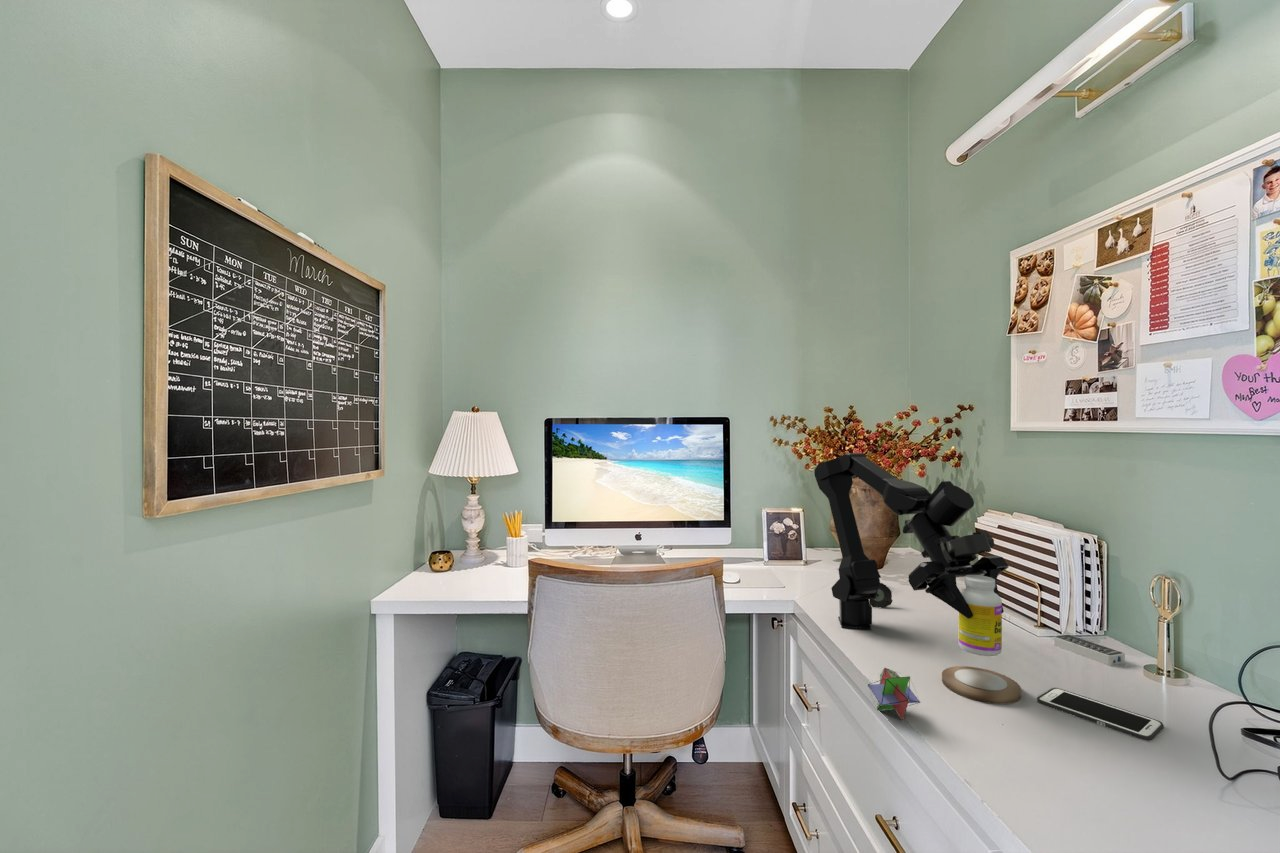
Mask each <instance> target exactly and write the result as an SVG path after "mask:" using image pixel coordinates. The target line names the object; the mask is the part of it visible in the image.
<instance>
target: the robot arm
mask: <svg viewBox="0 0 1280 853" xmlns="http://www.w3.org/2000/svg"><path fill="white" fill-rule="evenodd" d="M854 477H857V478H858V479H859V480H861V481H862V482H864V483H865V484H866V485H868V486H869V487H870V488H872V489H873V490H875V491H876V492H877V493H879V494H880V495H881V496H882V499H883V503H884V504H885V506H887V507H888V508H889V510H891V511H892V512H893V514H895V515H897V516H906V515H907V516H909V515H913V516H912V517H911V518H910V519H905V520H904V525H903V528H902V534H904V535H907V534H913V535H914V536H915V538H916V539H917V541H918V542H919V544H920V545H921V547H922V549H923V551H922V552H921V553H920V555H921V556H922V557H923V558H924V559H925V558H926V559H927V558H929V560H930V561H924V562H923V561H922V562H920V563H919V564H918V565H917V566H916V567H915V568H914V569H913V570H912V571H911V572H910V573H909V574H908V583H909V584H910V586H911V588H912V590H913V591H914V592H915V591H921V590H922V591H923V590H925V593H926V594H931V595H932V596H934V597H935V598H937V599H938V600H940V601H942V602H943V603H945V604H946V605H948V606H950V607H951V608H952V609H954V610H955V611H957V613H958V612H959V613H961V614H962V615H964V616H965V617H967V618H968V619H969V618H972V617H973V614H972V612H971V610H970V607H969V606H968V604H967V602H966V601H965V599H964V597H963V596H962V594H961V592H960V591H961V590H960V589H959V587H958V586H957V578H962V577H964V578H965V576H966V575H982V576H987V577H991V578H993V579H995V587H994V593H996V594H997V595H999V597H1000V593H999V590H998V585H997V580H998V577H999V576H1000V575H1001V574H1002V573H1004V571H1006V570H1007V569H1009V568H1010V567H1009V564H1008V563H1007V562H1006V561H1005V559H1004V558H1003V557H1002V556H999V555H988V556H987V555H986V556H982V557H980V558H979V559H978V557H977V555H978V554H982V553H991V552H992V547H993V548H994V546H995V539H994V538H993V536H992V535H990V533H989V532H988V531H987V530H986V529H985V530H978V531H975V532H973V533H972V534H968V535H963V536H959V535H952V534H951V532H950V530H949V529H948V528H947V527H953V526H954V525H956V524H957V523H958V521H961V519H962V518H963V517H964V516H965V515H966V514H967V513H969V511H970V510H971V509H972V508H973V507H974V506H975V501H974V498H973V497H972V495H971V494H970V493H969V492H967V491H966V490H964V489H963V488H961V487H959V486H957V485H954V484H953V483H952V482H951V481H950V480H945V481H941V482H940V483H939V484H938V485H937V487H936V489H935V490H933V492H931V493H930V491H929V490H928V489H927V488H926V487H924V486H922V485H919V484H917V483H915V482H912V481H911V482H910V481H908V480H903V479H900V478H897V477H896V476H895V475H893V474H892V473H890V472H888V471H887V470H886V469H884V468H883V467H881V466H879V465H878V464H877V463H875V462H873V461H872V460H870V459H869V458H867V456H866V454H863V453H861V452H850V453H849V452H848V453H845V454H842V455H840V456H839V457H836V458H833V459H829V460H826V461H820V462H818V463H817V465H816V467H815V468H814V478H815V480H816V483H817V486H818V489H819V490H820V491H821V492H822V493H823V494H824V496H825V497H826V498H827V499H828V502H829V507H830V511H831V512H830V513H831V515H832V519H833V523H834V528H835V532H836V537H837V540H838V544H839V548H840V553H841V557H842V558H841V561H840V563H839V567H838V575H839V579H837V581H836V582H835V583H834V584H833V585H832V587H831V589H830V590H831V592H832V593H831V594H832V597H833V598H834V599H837V600H839V601H838V602H839V616H838V617H837V618H838V622H839V624H840V627H841V628H844V629H845V628H847V629H861V630H871V629H872V626H871V625H872V624H873V607H872V606H871V605H870V604H869V603H870V600H869V599H876V595H877V592H878V588H879V586H880V583H881V580H880V578H881V574H880V572H879V569H878V563H877V561H876V560H875V559H870V558H869V557H868V556H867V555H866V554H865V551H864V548H863V543H862V540H861V536H860V532H859V528H858V524H857V520H856V515H855V512H854V509H853V504H852V500H851V496H850V493H851V489H852V486H853V482H854V481H853V478H854ZM976 559H978V560H977V561H976V562H975V563H973V564H971V562H974V561H975V560H976ZM1000 598H1001V597H1000ZM1003 607H1004V606H1002V614H1004V608H1003Z"/></svg>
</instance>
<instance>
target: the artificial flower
mask: <svg viewBox="0 0 1280 853" xmlns="http://www.w3.org/2000/svg"><path fill="white" fill-rule="evenodd" d="M892 595H893V594H892V590H891V589H890V588H889V587H888V586H887V585H886V584H885V583H882V582H880V586H879V588H878V592H877V595H876V599H869V604H870V605H871V607H872V608H873V607H875V608H879V607H882V608H886V607H888V606H891V605H892V603H893V598H892V597H893V596H892ZM882 608H881V609H882Z"/></svg>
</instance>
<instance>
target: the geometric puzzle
mask: <svg viewBox="0 0 1280 853" xmlns="http://www.w3.org/2000/svg"><path fill="white" fill-rule="evenodd" d="M877 682H879V683H877ZM910 682H911V676H910V675H908V676H900V675H899V673H898V672H897V671H895V670H892V669H889V668H887V667H884V668H883V669H882V670H881V672H880V674H879V680H876V681H874V682H870V683H868V684H866V685H867V687H868V689H869V691H870V692H871V693H870V694H871V696H872V695H873V696H875V697H874V698H876V700H877V703H878V705H877V706H875V707H876V711H879V712H880V711H882V710H883V711H882V713H883V714H885V712H884V710H887V711H888V712H890V713H891V714H892V715H894V718H896V719H899V720H901V721H902V722H903V721H904V720H905V719H906V717H905V716H906V714H905V713H906V711H907V707H910V706H913V705H918V704H921V701H920V699H919V697H918V696H917V695H918V694H917V692H915V693H916V695H915V693H914V692H913V691H912V689H911V686H910V684H911V683H912V685H914V683H913V682H911V683H910ZM875 683H877V684H875ZM913 688H914V690H916V689H915V687H913ZM873 703H874V704H876V702H875V701H874V702H873ZM909 704H910V705H909ZM890 710H895V712H896V713H897V715H896V714H894V713H893V712H892V711H890ZM887 715H888V716H890V715H889V714H888V713H887Z"/></svg>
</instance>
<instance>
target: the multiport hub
mask: <svg viewBox="0 0 1280 853" xmlns="http://www.w3.org/2000/svg"><path fill="white" fill-rule="evenodd" d="M1053 644H1054V645H1053V646H1054V647H1057V648H1058V647H1059V649H1061V650H1064V651H1067V652H1068V653H1069V652H1070V653H1073V654H1075V655H1077V656H1081V657H1083V658H1086V659H1089V660H1091V661H1095V662H1097V663H1100V664H1103V665H1106V666H1108V667H1115V666H1121V665H1125V664H1126V654H1125V652H1122V651H1118V650H1116V649H1114V648H1109V647H1107V646H1105V645H1101V644H1099V643H1095V642H1092V641H1089V640H1086V639H1083V638H1080V637H1077V636H1074V635H1072V634H1071V635H1070V634H1063V635H1062V634H1061V635H1057V636H1056V635H1055V636H1054V637H1053Z"/></svg>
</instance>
